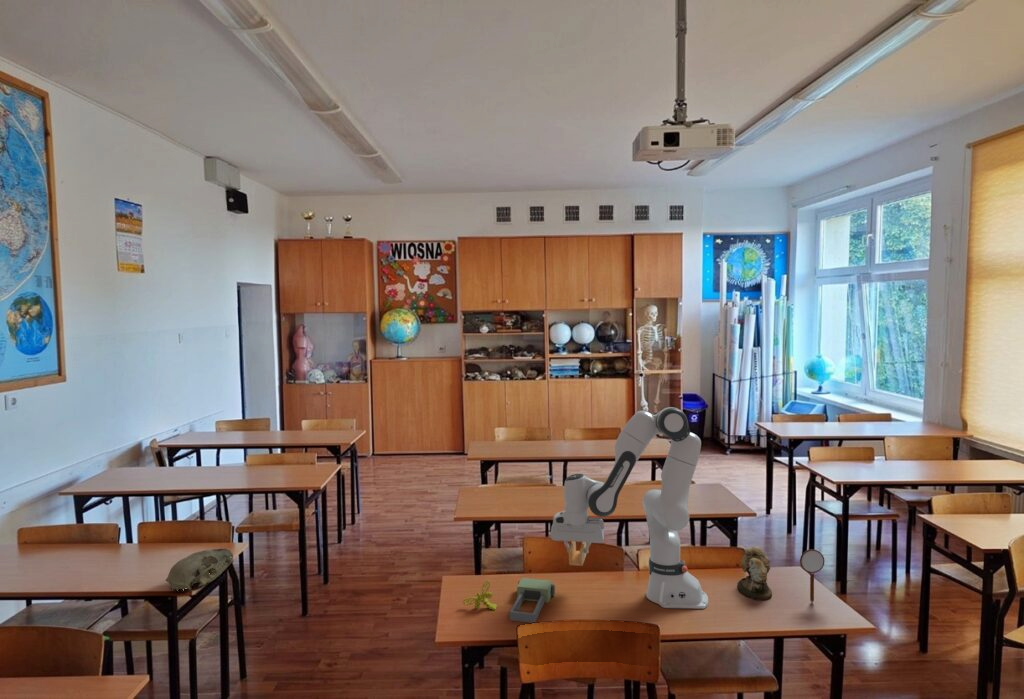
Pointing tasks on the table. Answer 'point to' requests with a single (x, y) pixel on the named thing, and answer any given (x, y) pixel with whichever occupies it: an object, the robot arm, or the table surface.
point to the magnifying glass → (812, 566)
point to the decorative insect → (484, 601)
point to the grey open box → (531, 598)
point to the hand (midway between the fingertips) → (577, 552)
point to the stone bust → (755, 574)
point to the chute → (576, 554)
